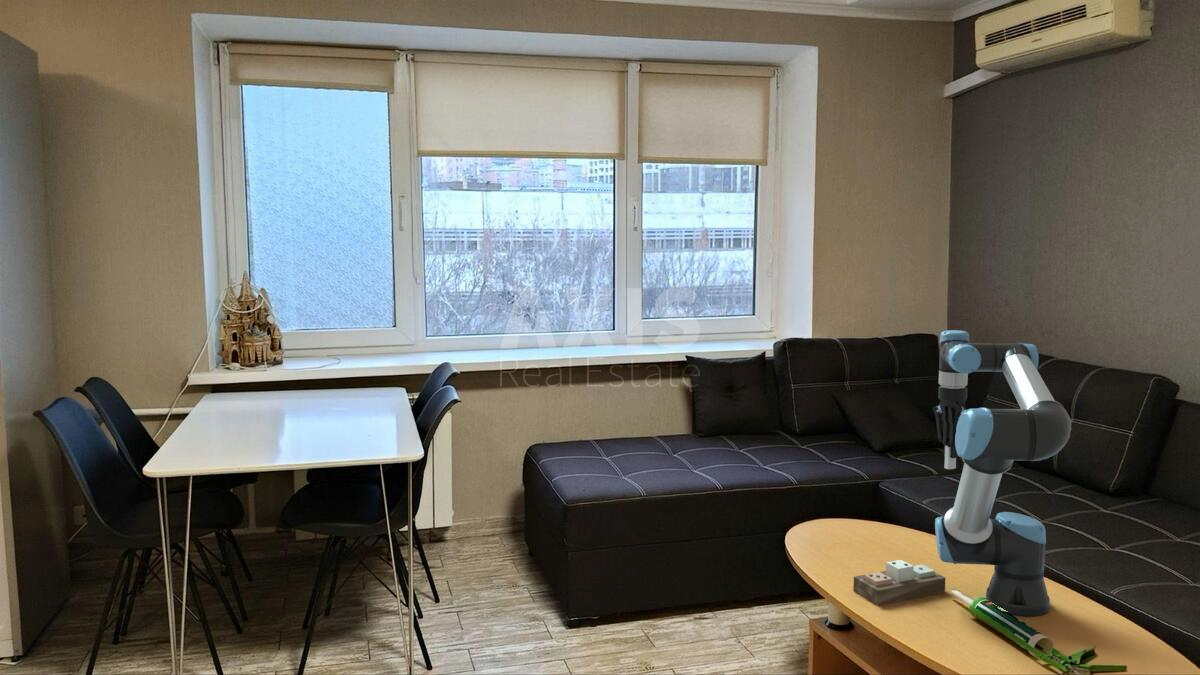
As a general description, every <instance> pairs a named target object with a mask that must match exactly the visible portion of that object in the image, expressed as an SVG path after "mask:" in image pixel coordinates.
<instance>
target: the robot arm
mask: <svg viewBox="0 0 1200 675" xmlns="http://www.w3.org/2000/svg"><path fill="white" fill-rule="evenodd" d="M1039 357H1040V356H1039V352H1038V348H1037V346H1036V345H1034V344H1032V343H1023V342H1017V343H1016V342H1014V343H1006V342H1005V343H994V342H993V343H991V342H990V343H988V342H987V343H982V342H979V343H978V342H975V343H974V342H970V333H969V332H968V331H965V330H957V329H956V330H954V329H953V330H952V329H951V330H949V329H948V330H944V331H942V332H941V333H940V339H939V368H938V384H939V386H938V390H937V391H938V393H937V394H938V395H937V398H938V399H939V400H940V402H939V404H938V405H937V406H933V407H932V411H933V412H934V413H933V414H934V417H935V423H936V432H937V439H938V442H942V445H943V456H944V465H943V466H944V469H946V470H954V469H956V468H957V458H958V457H959V458H960V459H962V461H963V467H962V472H961V476H960V481H959V484H958V489H957V493H956V496H955V499H954V503H953V507H950V508H949V509H948V510H947V511H946V513H945V514H944V516H942V515H941V516H939V517H936V518H935V519H934V520H935V521H934V529H935V538H936V540H935V541H936V548H937V554H938V557H939V560H941V562H943V563H948V564H954V565H957V564H958V565H960V564H961V565H983V566H985V565H986V566H993V567H994V568H993V569H994V571H993V574H992V577H991V579H990V582H989V584H988V587H987V588H986V591H985V600H986V599H987V600H989V601H990V602H992V603H994V604H995V605H997V606H999V607H1001V608H1003V609H1004V610H1006V611H1008V612H1009V613H1008V614H1010V613H1011V615H1014V616H1015V615H1016V616H1023V617H1024V616H1025V617H1036V616H1042V615H1045V614H1047V613H1049V612H1050V609H1051V599H1050V596H1049V595H1048V590H1047V586H1046V582H1045V579H1044V576H1045V575H1044V574H1045V558H1046V545H1047V536H1046V528H1045V525H1044V524H1043V523H1042V522H1041V521H1039V520H1038V519H1035V518H1034V517H1031V516H1028V515H1025V514H1022V513H1018V512H1011V511H1002V512H998V513H996V516H995V518H994V519H993V518H990V517H991V514H992V510H993V506H994V504H995V499H996V497H997V492H998V490H999V487H1000V483H1001V479H1002V476H1003V474H1004V473H1007V471H1009V470H1011V468H1012V466H1013V465H1014V461H1021V462H1022V461H1027V462H1028V461H1030V462H1035V461H1037V462H1039V461H1042V460H1046V459H1049V458H1050V457H1053V456H1055V455H1057V453H1059V452H1060V451H1062V449H1063V448H1064V447H1065V446H1066V444H1067V443H1068V441H1069V439H1070V436H1071V431H1072V422H1071V417H1070V415H1069V414H1068V412H1067V410H1066V409H1065V407H1064V405H1063V404H1061V403H1060V402H1058V401H1056V400H1055V399H1054V397H1053V395H1052V394H1051V392H1050V390H1049V387H1047V385H1046V383H1045V381H1044V380H1043V378H1042V376H1041V374H1040V372H1039V371H1038V370H1037V369H1038V366H1039V361H1040V360H1039ZM974 372H992V373H993V372H996V373H997V372H998V373H1003V375H1004V377H1005V379H1006V382H1007V383H1008V386H1009V387H1010V389H1011V391H1012V393H1013V395H1014V398H1015V399H1016V401H1017V403H1018V405H1019V407H1020V409H1019V408H1018V409H1017V408H987V407H978V408H968V409H966V405H965V402H966V401H967V399H968V388H967V386H968V380H969V378H968V376H969V374H971V373H974Z"/></svg>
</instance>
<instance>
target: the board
mask: <svg viewBox="0 0 1200 675" xmlns="http://www.w3.org/2000/svg"><path fill="white" fill-rule="evenodd" d="M877 572H878V571H877ZM877 572H875V573H877ZM880 572H881V573H882V574H884V575H886V570H881V571H880ZM864 575H866V574H861V575H855V576H853V586H852V587H853V589H852V590H853V592H854V593H856V594H858V595H860V596H861V597H863V598H864V599H866V600H868V601H869V602H871V603H873V604H874V605H876V606H879V605H885V604H890V603H894V602H899V601H900V602H901V601H905V600H910V599H915V598H919V597H921V598H922V597H925V596H930V595H935V594H936V595H937V594H940V593H945V592H946V577H945V576H943V575H941V574H940V573H937V572H936V571H935V573H934V576H930V577H924V578H917V577H916V576H914V575H913V580H908V581H903V582H896V581H894V580H892V584H887V585H882V586H874V585H872V584H870V583H869V582H867V581H865V580H864Z"/></svg>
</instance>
